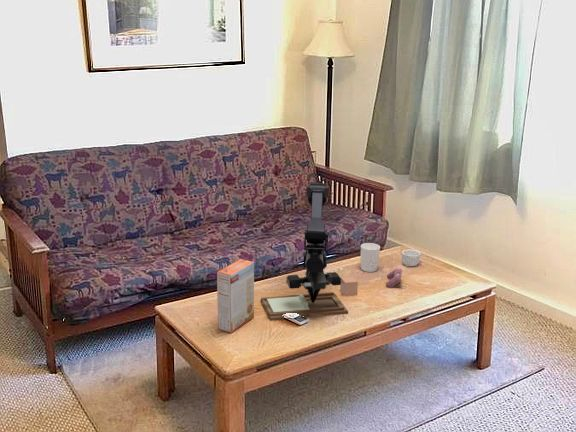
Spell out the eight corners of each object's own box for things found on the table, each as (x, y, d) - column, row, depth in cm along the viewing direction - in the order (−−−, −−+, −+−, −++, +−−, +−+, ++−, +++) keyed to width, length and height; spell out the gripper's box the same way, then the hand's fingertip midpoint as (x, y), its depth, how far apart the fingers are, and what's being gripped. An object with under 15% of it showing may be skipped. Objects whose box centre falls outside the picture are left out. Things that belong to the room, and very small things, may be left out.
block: (340, 290, 260) (340, 277, 258) (352, 289, 261) (353, 276, 260) (344, 296, 256) (345, 282, 254) (357, 295, 257) (357, 281, 255)
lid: (266, 300, 247) (266, 294, 246) (301, 297, 250) (301, 292, 249) (273, 313, 237) (273, 307, 236) (309, 310, 240) (309, 304, 239)
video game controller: (394, 292, 264) (404, 277, 262) (384, 286, 264) (394, 271, 262) (395, 282, 273) (405, 268, 271) (386, 276, 273) (395, 262, 271)
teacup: (409, 269, 282) (410, 257, 281) (396, 263, 288) (397, 251, 287) (427, 264, 288) (428, 252, 286) (413, 259, 294) (415, 247, 292)
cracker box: (240, 313, 239) (240, 257, 232) (254, 318, 236) (255, 261, 230) (216, 329, 227) (216, 270, 221) (231, 334, 224) (231, 275, 218)
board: (260, 300, 249) (260, 296, 249) (334, 295, 256) (334, 290, 255) (270, 320, 235) (270, 315, 234) (348, 313, 241) (348, 309, 241)
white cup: (381, 268, 283) (383, 245, 280) (373, 274, 276) (375, 251, 273) (364, 264, 287) (366, 241, 284) (355, 269, 280) (357, 246, 277)
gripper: (294, 272, 230) (292, 314, 235) (347, 268, 234) (344, 310, 239) (286, 259, 240) (285, 300, 245) (337, 256, 245) (335, 296, 250)
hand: (312, 302), depth 245 cm, fingers closed
